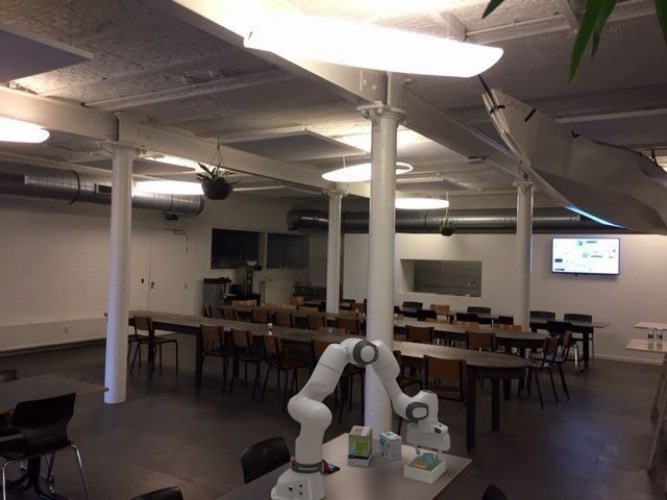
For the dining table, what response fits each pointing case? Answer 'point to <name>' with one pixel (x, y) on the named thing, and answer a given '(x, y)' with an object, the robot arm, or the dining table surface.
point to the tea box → (360, 446)
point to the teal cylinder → (429, 460)
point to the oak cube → (422, 466)
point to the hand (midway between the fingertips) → (427, 456)
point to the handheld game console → (329, 467)
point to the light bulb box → (391, 446)
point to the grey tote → (422, 474)
